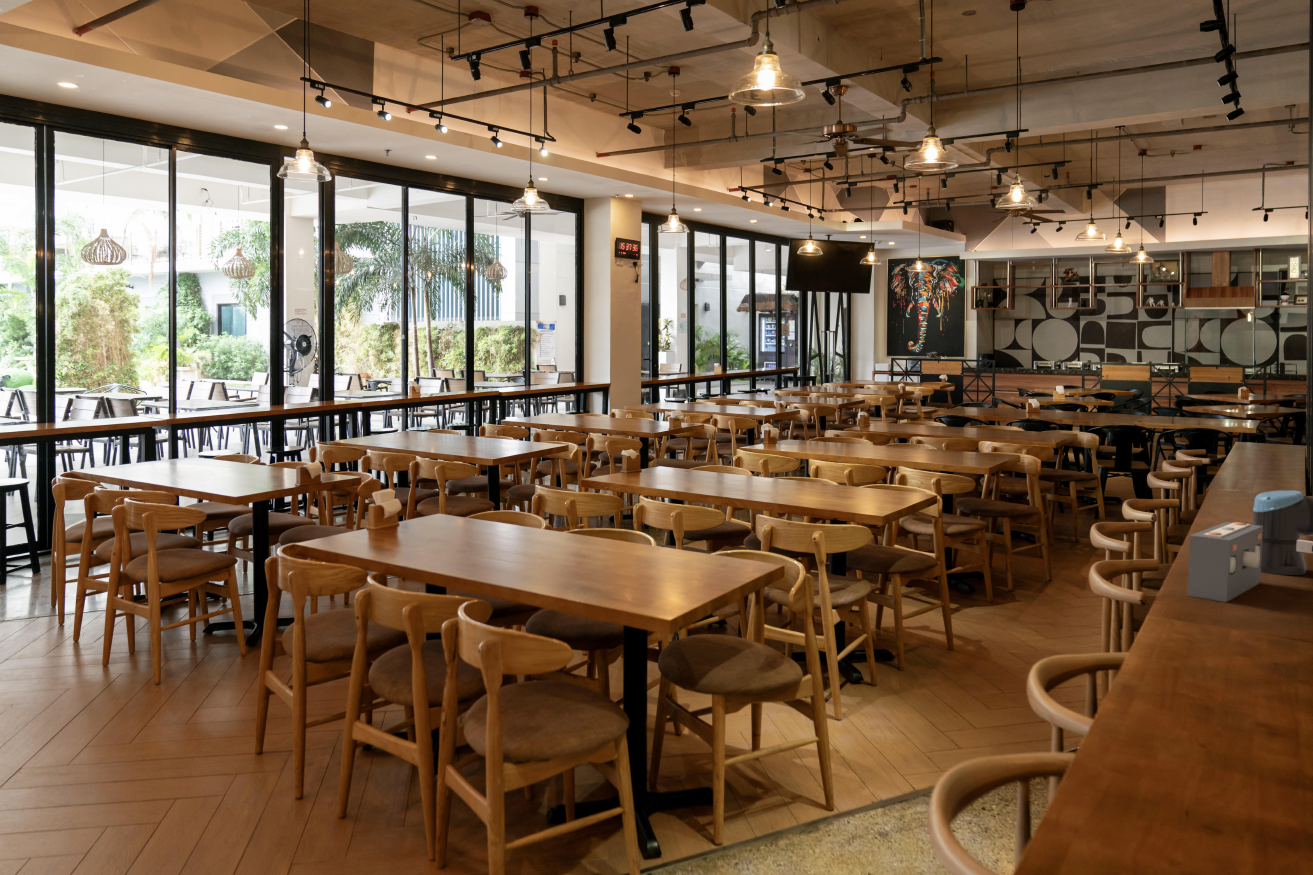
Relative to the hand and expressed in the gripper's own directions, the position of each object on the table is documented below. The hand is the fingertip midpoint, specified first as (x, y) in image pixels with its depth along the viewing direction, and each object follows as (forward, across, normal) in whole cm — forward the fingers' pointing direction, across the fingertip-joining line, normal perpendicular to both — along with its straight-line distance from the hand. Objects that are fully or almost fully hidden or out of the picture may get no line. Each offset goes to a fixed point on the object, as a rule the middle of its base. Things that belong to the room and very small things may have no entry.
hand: (1297, 545), depth 222 cm
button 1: (+16, -2, -9) cm, 18 cm away
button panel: (+17, +8, -16) cm, 25 cm away
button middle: (+13, +9, -9) cm, 18 cm away
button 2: (+16, +20, -9) cm, 27 cm away
